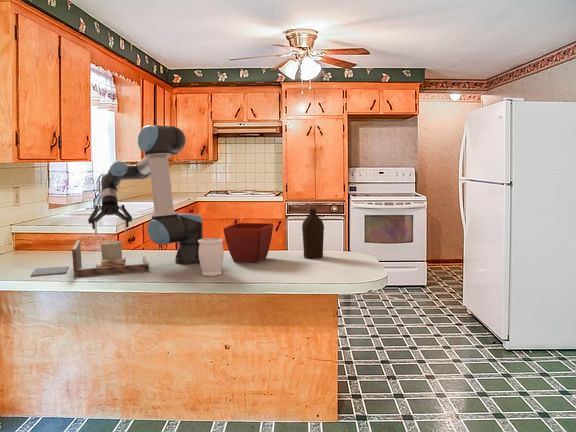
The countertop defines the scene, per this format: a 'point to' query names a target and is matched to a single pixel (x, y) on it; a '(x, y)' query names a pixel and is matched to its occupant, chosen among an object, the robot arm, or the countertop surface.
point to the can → (111, 250)
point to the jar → (211, 256)
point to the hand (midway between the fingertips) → (110, 232)
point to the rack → (102, 270)
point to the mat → (50, 271)
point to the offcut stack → (112, 262)
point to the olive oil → (313, 235)
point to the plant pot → (248, 241)
